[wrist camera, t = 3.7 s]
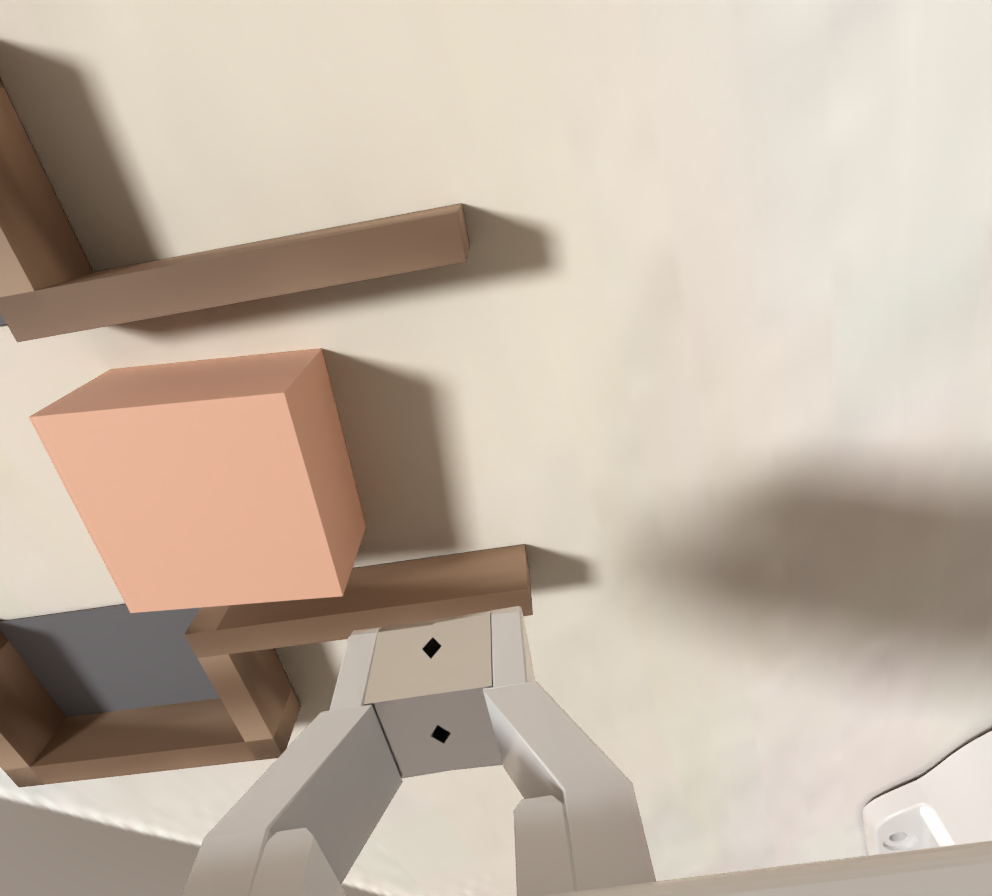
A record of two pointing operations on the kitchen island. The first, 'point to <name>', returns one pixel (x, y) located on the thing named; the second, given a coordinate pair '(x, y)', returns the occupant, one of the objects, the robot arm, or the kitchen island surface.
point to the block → (211, 479)
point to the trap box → (207, 630)
